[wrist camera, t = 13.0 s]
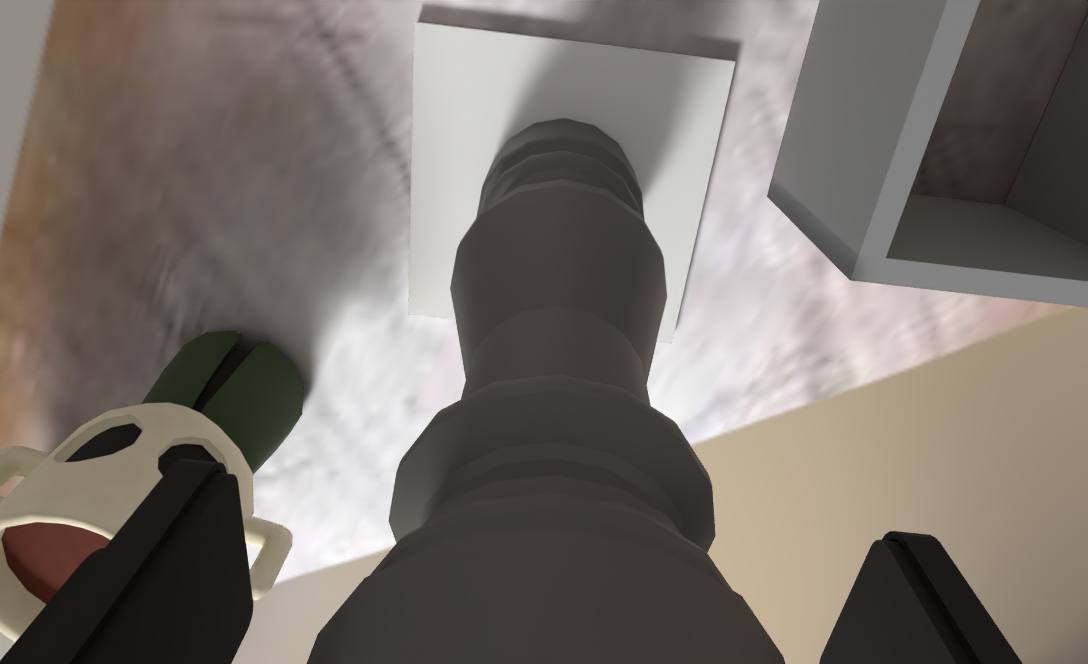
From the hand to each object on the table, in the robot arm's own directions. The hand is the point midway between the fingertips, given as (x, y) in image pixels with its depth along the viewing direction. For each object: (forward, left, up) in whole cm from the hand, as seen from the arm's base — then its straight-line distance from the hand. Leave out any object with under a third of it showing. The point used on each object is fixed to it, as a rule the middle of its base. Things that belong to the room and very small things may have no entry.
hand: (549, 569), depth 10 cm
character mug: (+11, -14, -21) cm, 27 cm away
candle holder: (0, 0, -20) cm, 20 cm away
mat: (0, 0, -20) cm, 20 cm away
